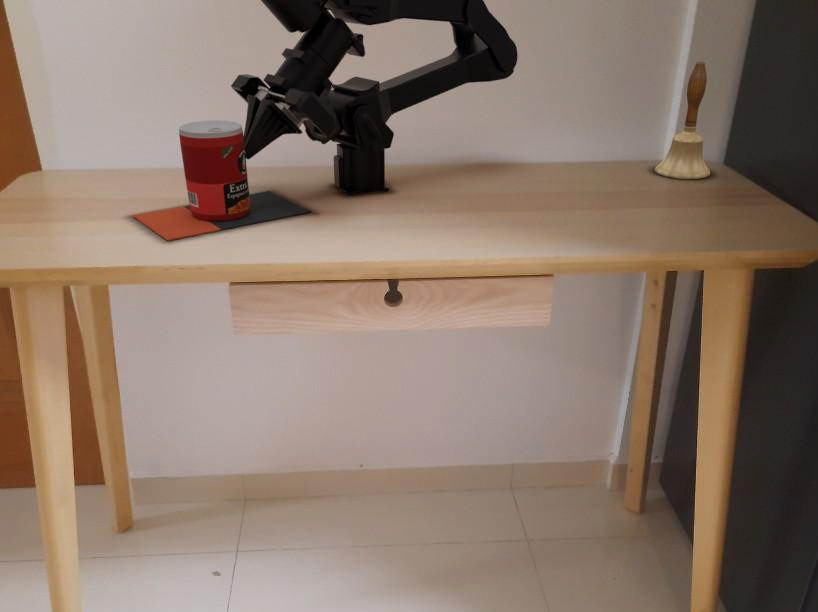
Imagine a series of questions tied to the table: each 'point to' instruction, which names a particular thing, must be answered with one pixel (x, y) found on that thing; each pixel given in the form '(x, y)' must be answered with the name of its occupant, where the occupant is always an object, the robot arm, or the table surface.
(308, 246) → the table surface
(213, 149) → the canned food
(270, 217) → the mat
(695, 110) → the hand bell
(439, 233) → the table surface
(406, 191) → the table surface
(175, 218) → the pad
